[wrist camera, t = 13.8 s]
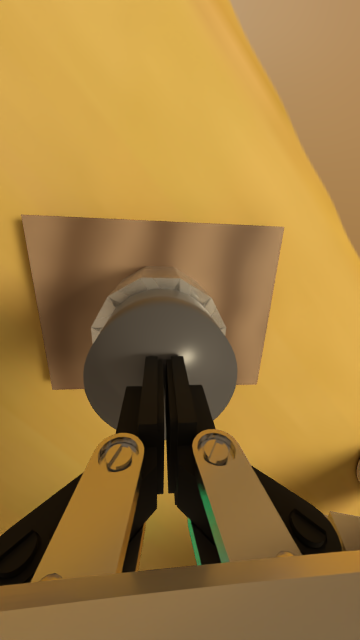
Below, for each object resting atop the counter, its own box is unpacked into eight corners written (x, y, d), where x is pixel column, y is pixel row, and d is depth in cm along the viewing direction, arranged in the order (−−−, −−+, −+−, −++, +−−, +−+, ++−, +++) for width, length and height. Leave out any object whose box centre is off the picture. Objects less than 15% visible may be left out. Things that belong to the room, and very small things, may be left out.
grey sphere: (210, 280, 16) (246, 308, 10) (203, 366, 18) (229, 436, 12) (109, 278, 15) (74, 306, 9) (115, 368, 18) (90, 443, 11)
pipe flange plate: (272, 228, 20) (340, 220, 13) (249, 373, 25) (288, 430, 18) (35, 217, 18) (-52, 200, 11) (61, 377, 23) (14, 443, 16)
